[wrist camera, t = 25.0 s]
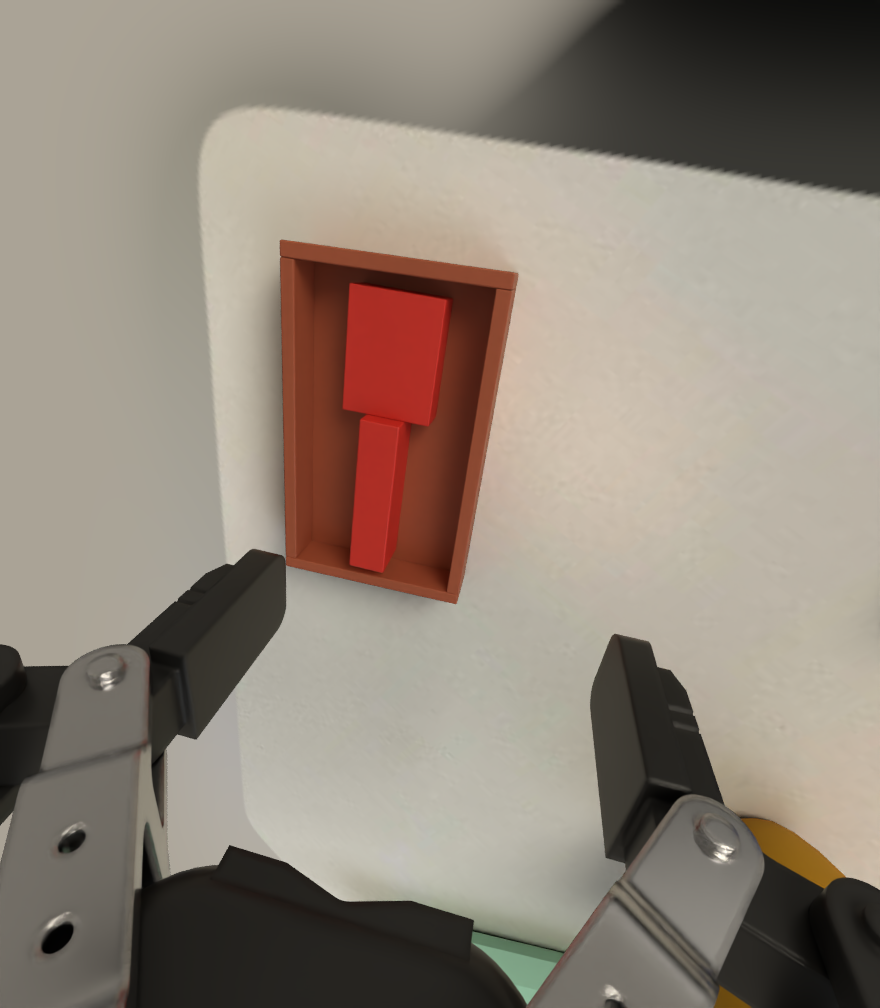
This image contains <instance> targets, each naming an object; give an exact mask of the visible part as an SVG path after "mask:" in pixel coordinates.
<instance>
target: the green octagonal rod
mask: <svg viewBox="0 0 880 1008" xmlns="http://www.w3.org/2000/svg"><path fill="white" fill-rule="evenodd" d="M471 943H473V944H474V945H476V946H477V947H479V948H480V949H481V950H483V951H484V952H485V953H486V954H487V955H488V956H489V957H491V958H492V959H493V960H494V961H495V962H496V963H497V964H498V965H499V966H500V967H501V969H502V970H503V971H504V972H505V973H506V974H507V975H508V977H509V978H510V979H511V981H512V982H513V983H514V985H515V986H516V988H517V989H518V990H519V992H520V993H521V995H522V996H523V998H524V1000H525V1002H526V1003H527V1005H528V1003H529V1002H530V1000H531V999H532V998H533V996H534V995H535V993H536V992H537V991H538V989H539V988H540V986H541V985H542V984H543V982H544V981H545V979H546V978H547V977H548V975H549V974H550V972H551V971H552V970H553V968H554V967H555V965H556V964H557V963H558V961H559V960H560V958H561V957H562V956H563V954H564V953H561V952H557V951H552V950H548V949H544V948H540V947H536V946H531V945H527V944H523V943H519V942H515V941H511V940H506V939H502V938H498V937H494V936H490V935H486V934H481V933H477V932H472V941H471Z"/></svg>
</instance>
